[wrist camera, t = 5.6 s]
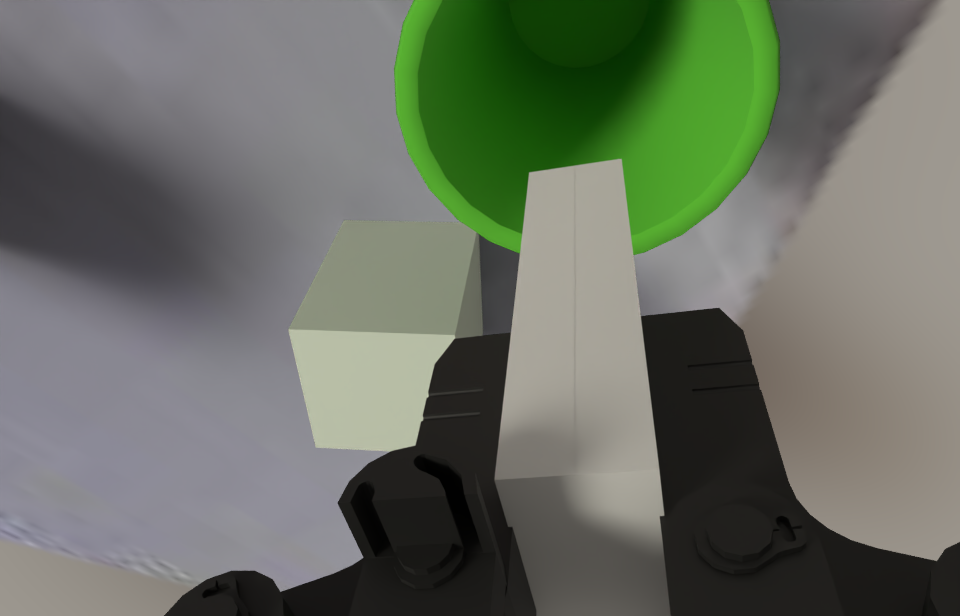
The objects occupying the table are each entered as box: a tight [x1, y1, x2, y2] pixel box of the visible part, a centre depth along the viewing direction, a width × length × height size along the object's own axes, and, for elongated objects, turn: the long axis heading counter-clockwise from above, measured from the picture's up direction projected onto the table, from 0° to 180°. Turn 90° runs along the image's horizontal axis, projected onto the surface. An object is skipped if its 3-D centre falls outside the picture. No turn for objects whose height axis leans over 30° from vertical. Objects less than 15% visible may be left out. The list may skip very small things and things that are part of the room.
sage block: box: [288, 220, 483, 451], centre depth 31 cm, size 6×6×8 cm
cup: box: [394, 0, 780, 255], centre depth 22 cm, size 9×9×11 cm
